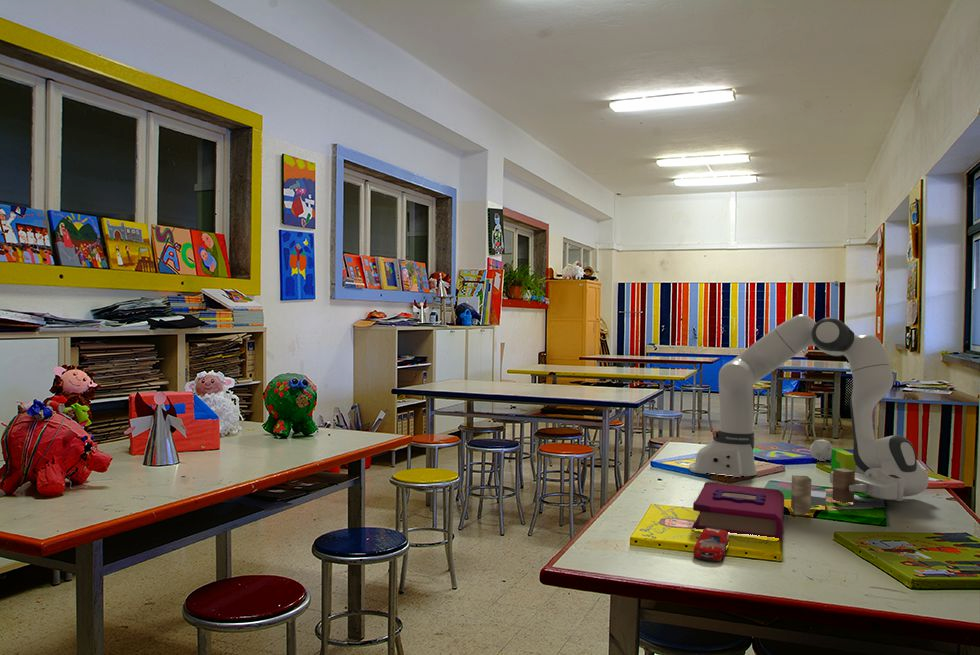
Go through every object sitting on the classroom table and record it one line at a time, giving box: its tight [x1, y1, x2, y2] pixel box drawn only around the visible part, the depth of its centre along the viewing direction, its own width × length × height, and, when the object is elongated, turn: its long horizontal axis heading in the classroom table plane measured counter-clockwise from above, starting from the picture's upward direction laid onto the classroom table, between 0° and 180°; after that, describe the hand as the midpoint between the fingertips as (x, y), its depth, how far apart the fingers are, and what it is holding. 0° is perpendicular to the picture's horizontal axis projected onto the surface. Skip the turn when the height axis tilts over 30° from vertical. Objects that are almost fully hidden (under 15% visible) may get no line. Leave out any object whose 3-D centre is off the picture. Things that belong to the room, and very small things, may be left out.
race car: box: [693, 528, 730, 563], centre depth 167 cm, size 16×7×5 cm, turn 154°
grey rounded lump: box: [809, 439, 835, 462], centre depth 276 cm, size 8×9×10 cm
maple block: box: [790, 474, 812, 516], centre depth 201 cm, size 4×4×10 cm
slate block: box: [811, 490, 827, 506], centre depth 208 cm, size 7×7×4 cm
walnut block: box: [832, 468, 855, 504], centre depth 211 cm, size 4×4×10 cm
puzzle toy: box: [830, 448, 865, 475], centre depth 241 cm, size 10×10×10 cm
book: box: [692, 481, 785, 540], centre depth 191 cm, size 21×28×8 cm
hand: (841, 485), depth 211 cm, fingers closed on walnut block, 4 cm apart
